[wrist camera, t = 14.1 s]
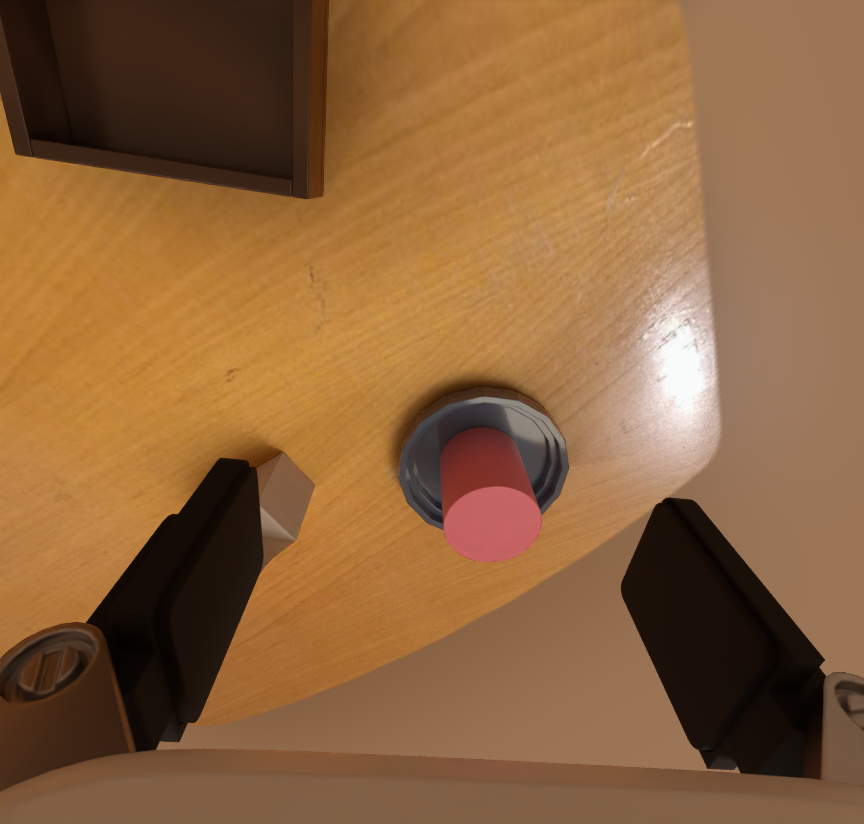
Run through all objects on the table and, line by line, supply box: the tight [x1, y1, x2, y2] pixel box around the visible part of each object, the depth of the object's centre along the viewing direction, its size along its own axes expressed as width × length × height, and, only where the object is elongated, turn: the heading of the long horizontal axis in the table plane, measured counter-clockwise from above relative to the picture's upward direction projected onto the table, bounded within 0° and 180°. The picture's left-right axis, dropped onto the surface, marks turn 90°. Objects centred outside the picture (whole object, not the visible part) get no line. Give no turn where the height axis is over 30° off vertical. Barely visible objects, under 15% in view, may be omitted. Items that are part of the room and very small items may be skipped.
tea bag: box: [256, 452, 315, 573], centre depth 31 cm, size 4×7×10 cm, turn 122°
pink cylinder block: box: [440, 427, 542, 562], centre depth 31 cm, size 6×6×7 cm
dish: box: [398, 387, 569, 530], centre depth 33 cm, size 12×12×2 cm
